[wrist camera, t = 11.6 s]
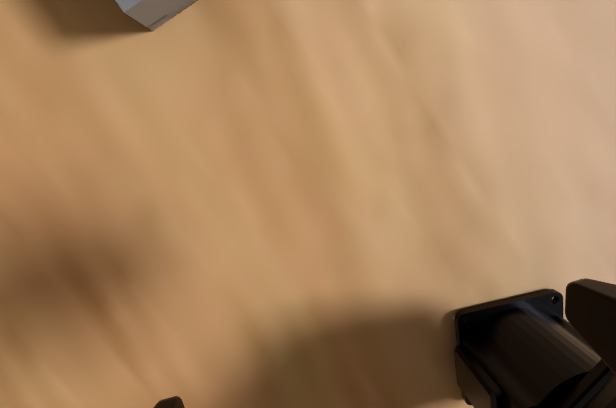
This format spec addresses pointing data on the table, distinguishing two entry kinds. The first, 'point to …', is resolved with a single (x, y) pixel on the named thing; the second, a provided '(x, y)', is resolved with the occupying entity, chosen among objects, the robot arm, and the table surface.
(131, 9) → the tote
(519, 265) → the table surface
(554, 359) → the robot arm
